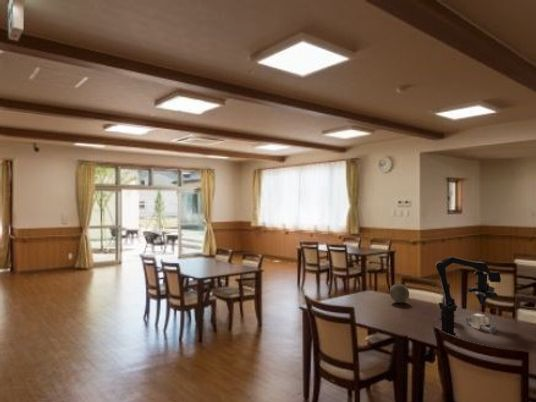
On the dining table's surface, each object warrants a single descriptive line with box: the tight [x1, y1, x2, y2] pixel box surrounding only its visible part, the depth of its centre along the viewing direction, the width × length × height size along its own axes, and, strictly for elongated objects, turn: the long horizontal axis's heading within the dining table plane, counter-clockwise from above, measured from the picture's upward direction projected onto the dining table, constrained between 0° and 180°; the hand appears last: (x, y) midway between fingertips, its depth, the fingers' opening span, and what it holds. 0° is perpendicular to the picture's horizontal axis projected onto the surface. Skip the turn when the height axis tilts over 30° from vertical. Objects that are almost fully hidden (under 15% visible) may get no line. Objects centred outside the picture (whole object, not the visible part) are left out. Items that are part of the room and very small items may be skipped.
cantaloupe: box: [389, 283, 410, 304], centre depth 316 cm, size 14×14×15 cm
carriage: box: [471, 313, 487, 330], centre depth 256 cm, size 6×5×8 cm
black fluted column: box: [438, 302, 458, 338], centre depth 235 cm, size 8×8×20 cm
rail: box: [465, 317, 497, 335], centre depth 254 cm, size 3×20×4 cm, turn 17°
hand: (482, 305), depth 264 cm, fingers closed
